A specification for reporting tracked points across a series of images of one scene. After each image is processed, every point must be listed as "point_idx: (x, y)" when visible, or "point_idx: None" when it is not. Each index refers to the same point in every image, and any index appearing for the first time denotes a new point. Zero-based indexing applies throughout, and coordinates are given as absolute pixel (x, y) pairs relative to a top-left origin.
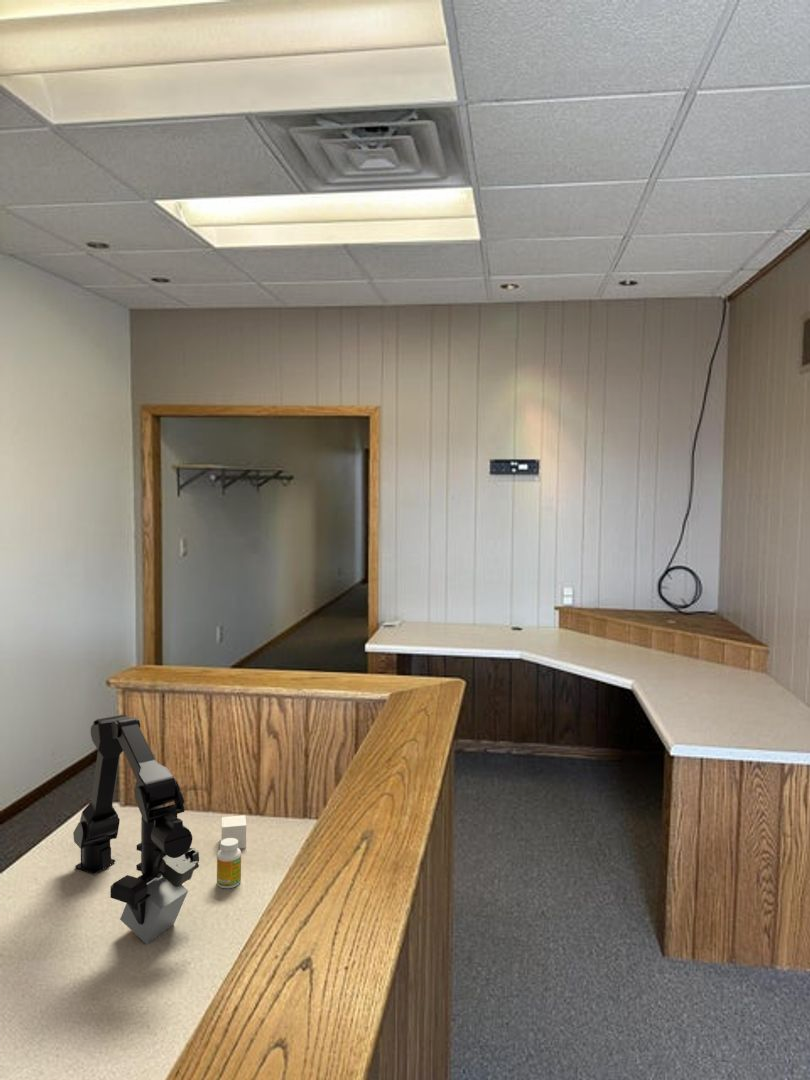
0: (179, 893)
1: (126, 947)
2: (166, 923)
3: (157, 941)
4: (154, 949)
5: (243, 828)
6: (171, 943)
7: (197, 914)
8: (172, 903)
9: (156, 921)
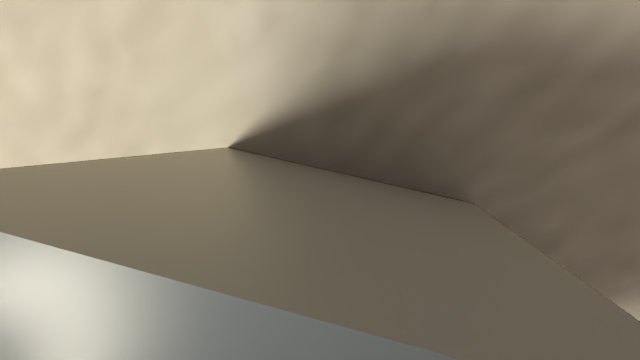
0: (28, 307)
1: None
2: (313, 179)
3: (425, 155)
4: (526, 129)
5: None
6: (429, 45)
7: (73, 56)
8: (325, 281)
9: (569, 274)
